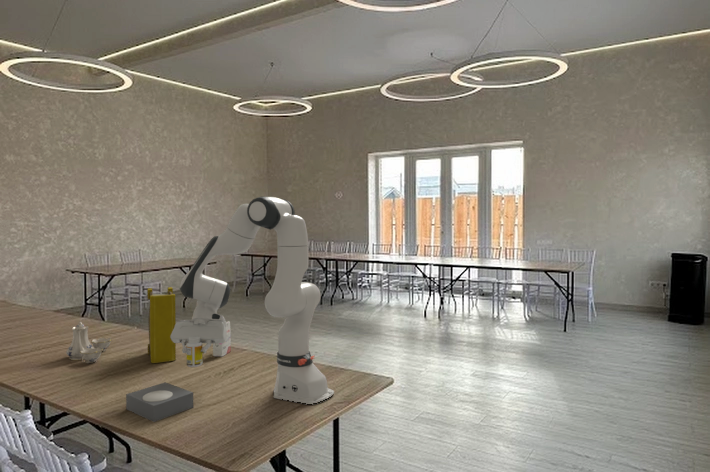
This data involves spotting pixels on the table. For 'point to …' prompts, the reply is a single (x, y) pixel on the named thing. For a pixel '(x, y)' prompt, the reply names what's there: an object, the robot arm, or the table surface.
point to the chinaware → (86, 345)
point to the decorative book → (161, 326)
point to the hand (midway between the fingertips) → (193, 352)
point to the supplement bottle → (194, 352)
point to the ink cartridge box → (223, 344)
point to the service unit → (159, 401)
